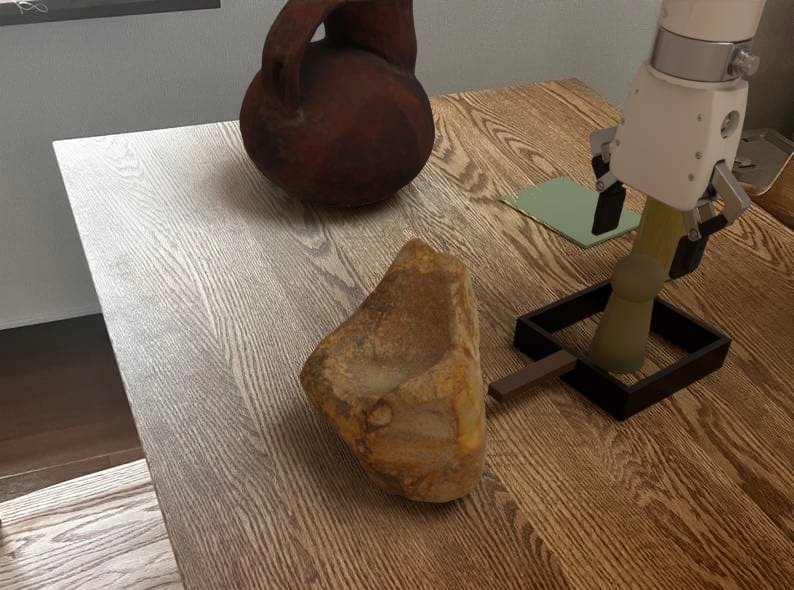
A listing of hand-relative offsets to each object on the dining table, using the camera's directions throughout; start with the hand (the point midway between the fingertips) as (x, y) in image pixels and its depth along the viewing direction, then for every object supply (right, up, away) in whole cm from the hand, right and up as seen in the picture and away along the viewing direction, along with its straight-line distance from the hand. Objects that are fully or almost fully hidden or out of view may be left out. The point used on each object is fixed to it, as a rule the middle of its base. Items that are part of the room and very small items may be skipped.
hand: (641, 252), depth 78 cm
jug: (-31, +21, +34) cm, 50 cm away
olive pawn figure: (0, -8, +9) cm, 12 cm away
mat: (0, +16, +31) cm, 35 cm away
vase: (+8, +5, +21) cm, 23 cm away
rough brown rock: (-24, -17, 0) cm, 30 cm away
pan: (-4, -10, +7) cm, 13 cm away
